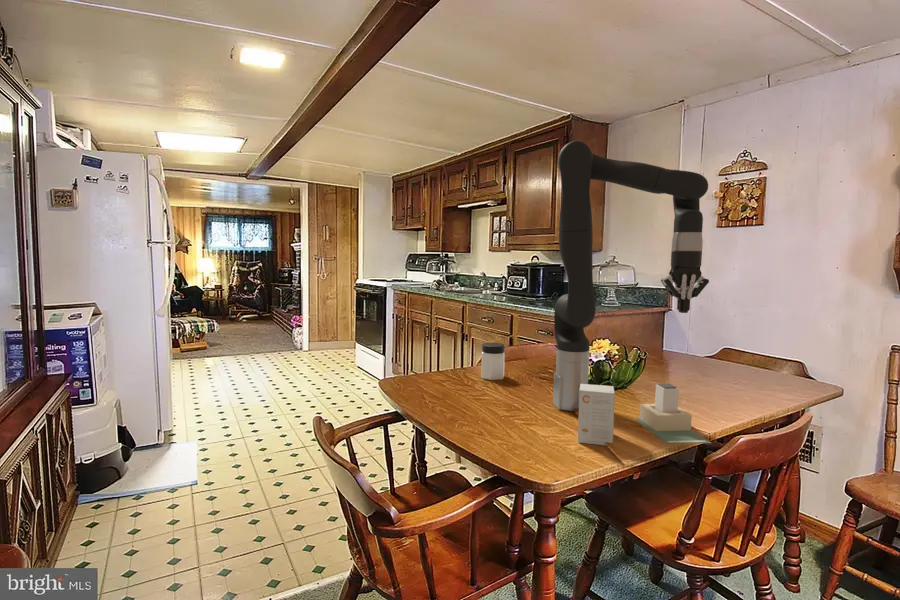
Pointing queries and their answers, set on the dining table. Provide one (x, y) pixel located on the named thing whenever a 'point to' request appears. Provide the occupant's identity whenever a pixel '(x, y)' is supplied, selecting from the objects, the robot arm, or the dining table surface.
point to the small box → (596, 414)
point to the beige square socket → (665, 419)
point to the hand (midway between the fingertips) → (683, 312)
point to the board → (676, 435)
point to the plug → (666, 398)
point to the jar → (492, 361)
